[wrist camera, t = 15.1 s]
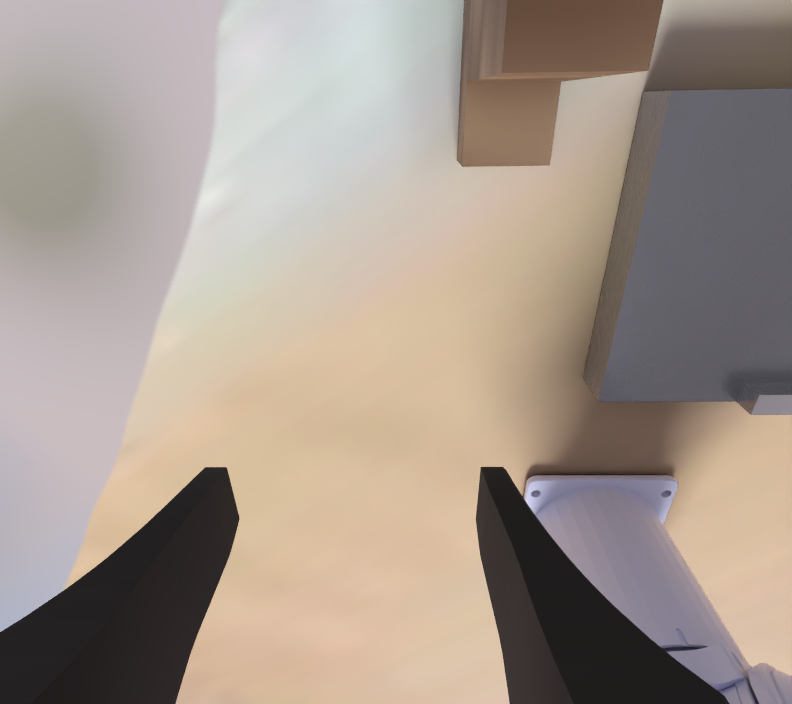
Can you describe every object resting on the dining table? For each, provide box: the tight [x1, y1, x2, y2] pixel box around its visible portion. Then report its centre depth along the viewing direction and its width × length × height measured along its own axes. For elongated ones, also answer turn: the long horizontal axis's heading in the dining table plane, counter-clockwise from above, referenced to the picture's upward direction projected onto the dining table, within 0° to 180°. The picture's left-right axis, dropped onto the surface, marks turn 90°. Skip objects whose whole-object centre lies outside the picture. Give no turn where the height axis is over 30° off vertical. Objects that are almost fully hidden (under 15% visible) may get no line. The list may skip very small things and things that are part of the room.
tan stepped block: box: [457, 0, 663, 167], centre depth 12 cm, size 8×3×8 cm, turn 1°
